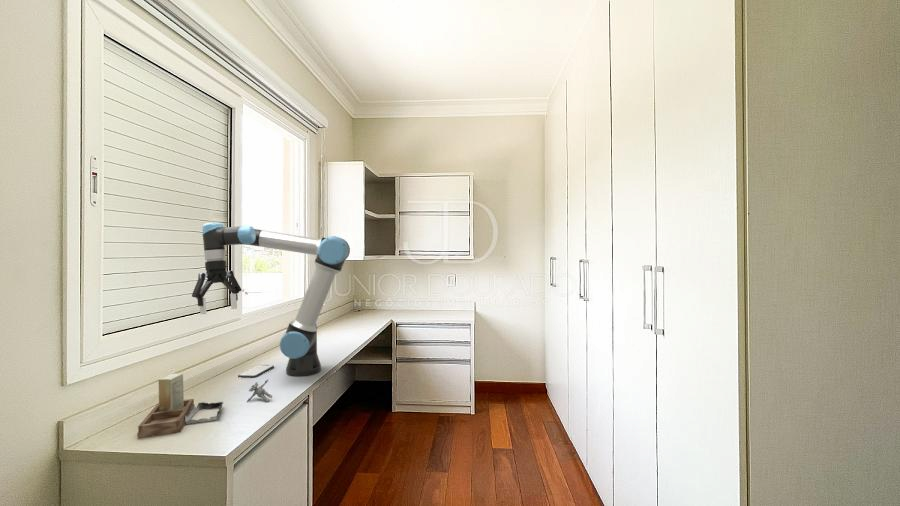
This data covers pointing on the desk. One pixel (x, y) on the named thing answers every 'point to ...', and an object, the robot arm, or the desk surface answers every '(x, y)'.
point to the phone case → (256, 371)
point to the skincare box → (171, 392)
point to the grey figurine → (259, 391)
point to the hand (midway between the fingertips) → (219, 311)
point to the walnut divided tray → (165, 420)
